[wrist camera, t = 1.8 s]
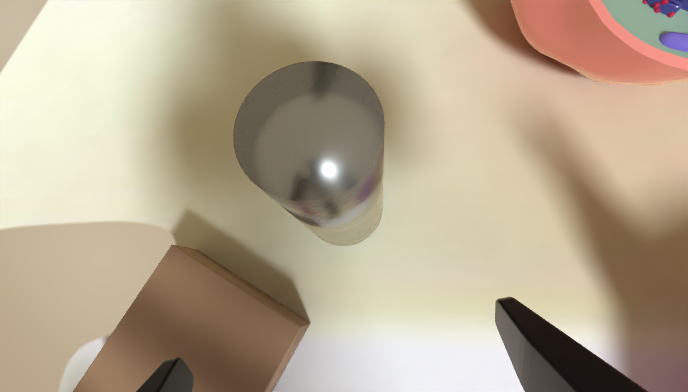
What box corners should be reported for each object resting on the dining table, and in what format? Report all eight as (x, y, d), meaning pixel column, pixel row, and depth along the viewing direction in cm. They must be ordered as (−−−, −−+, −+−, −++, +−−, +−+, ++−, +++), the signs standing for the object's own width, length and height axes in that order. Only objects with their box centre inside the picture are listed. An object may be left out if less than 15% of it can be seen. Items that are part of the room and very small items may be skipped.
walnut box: (226, 472, 20) (201, 503, 17) (112, 378, 22) (72, 391, 20) (310, 322, 22) (299, 328, 19) (196, 249, 24) (171, 244, 21)
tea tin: (358, 260, 23) (334, 229, 11) (291, 222, 24) (204, 157, 12) (396, 192, 24) (411, 95, 12) (330, 158, 25) (284, 41, 13)
